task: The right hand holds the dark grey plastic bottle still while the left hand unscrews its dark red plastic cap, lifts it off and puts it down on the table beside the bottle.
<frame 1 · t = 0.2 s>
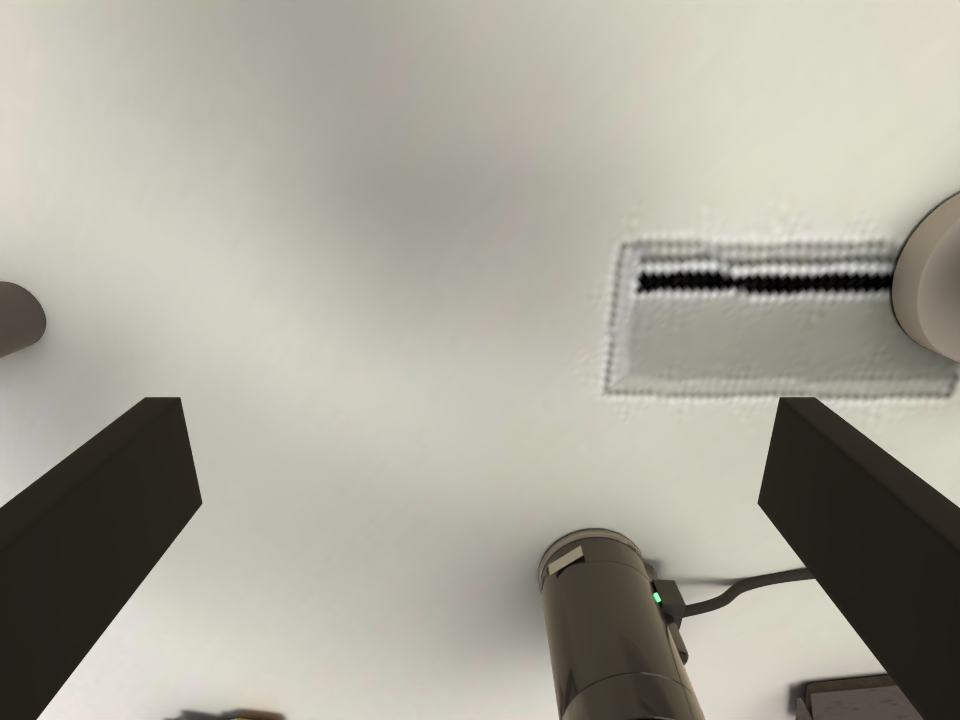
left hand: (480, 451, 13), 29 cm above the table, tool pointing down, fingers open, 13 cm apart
bottle: (11, 314, 42), on the table
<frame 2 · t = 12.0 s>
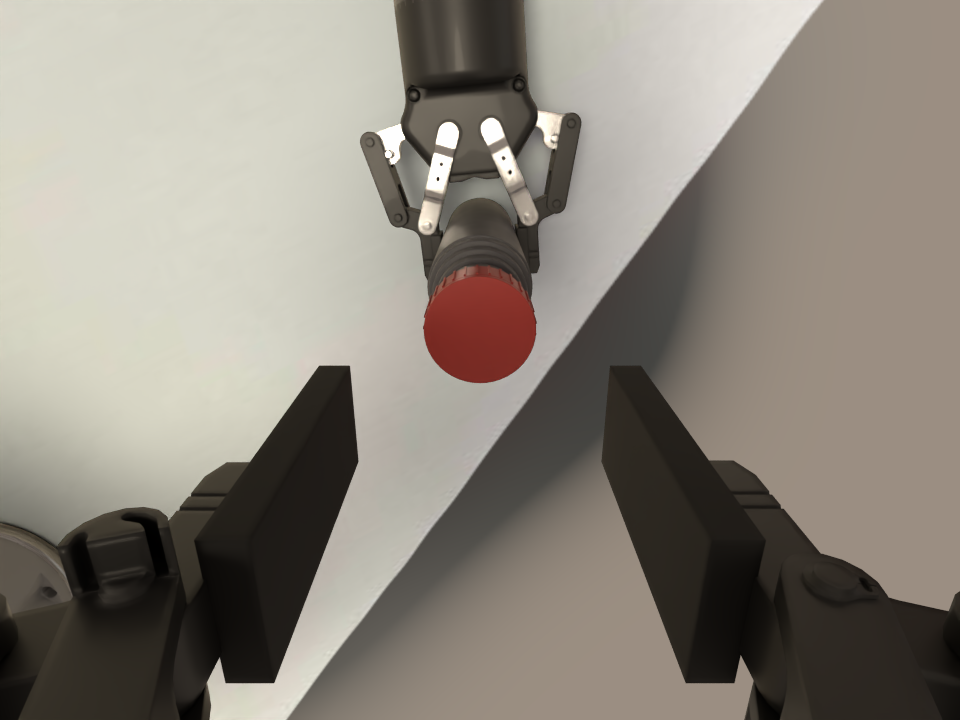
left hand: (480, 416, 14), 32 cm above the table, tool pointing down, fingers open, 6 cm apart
right hand: (483, 282, 39), fingers closed on bottle, 5 cm apart
cap: (479, 329, 21), point 25 cm above the table, screwed on, not yet turned
bottle: (480, 231, 44), on the table, touching right hand
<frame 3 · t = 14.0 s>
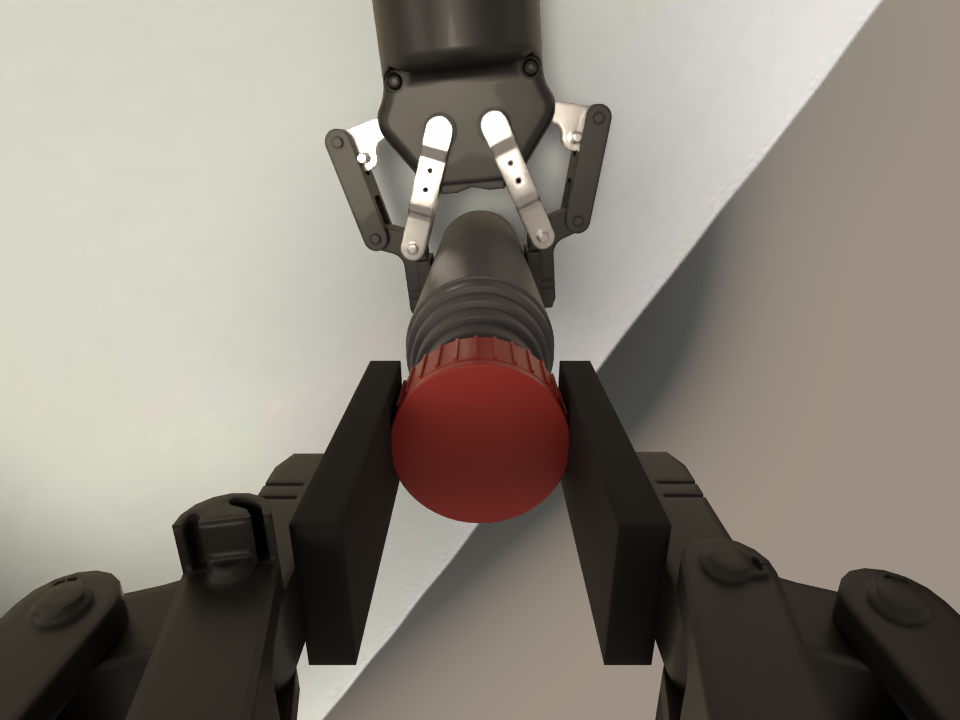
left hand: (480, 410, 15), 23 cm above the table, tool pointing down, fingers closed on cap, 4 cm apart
right hand: (484, 318, 31), fingers closed on bottle, 5 cm apart
cap: (480, 442, 13), point 25 cm above the table, screwed on, not yet turned, touching left hand
bottle: (480, 250, 36), on the table, touching right hand
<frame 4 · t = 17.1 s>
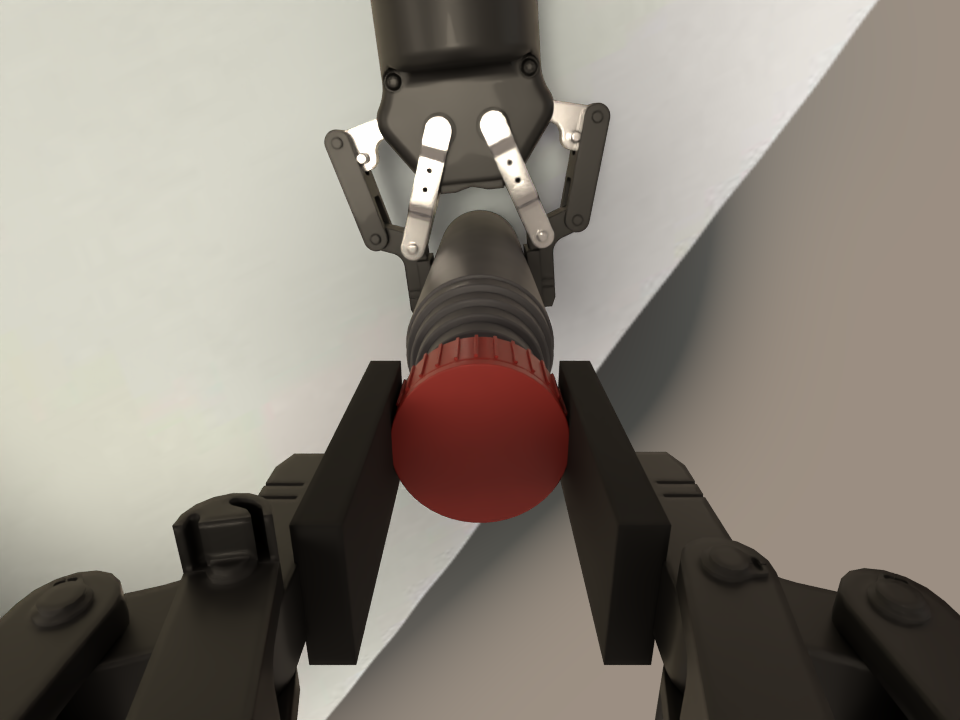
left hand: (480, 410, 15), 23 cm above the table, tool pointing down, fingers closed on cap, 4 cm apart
right hand: (485, 317, 31), fingers closed on bottle, 5 cm apart
cap: (480, 441, 13), point 25 cm above the table, turned 86° so far, risen 0.1 cm, still on its thread, touching left hand
bottle: (479, 250, 36), on the table, touching right hand
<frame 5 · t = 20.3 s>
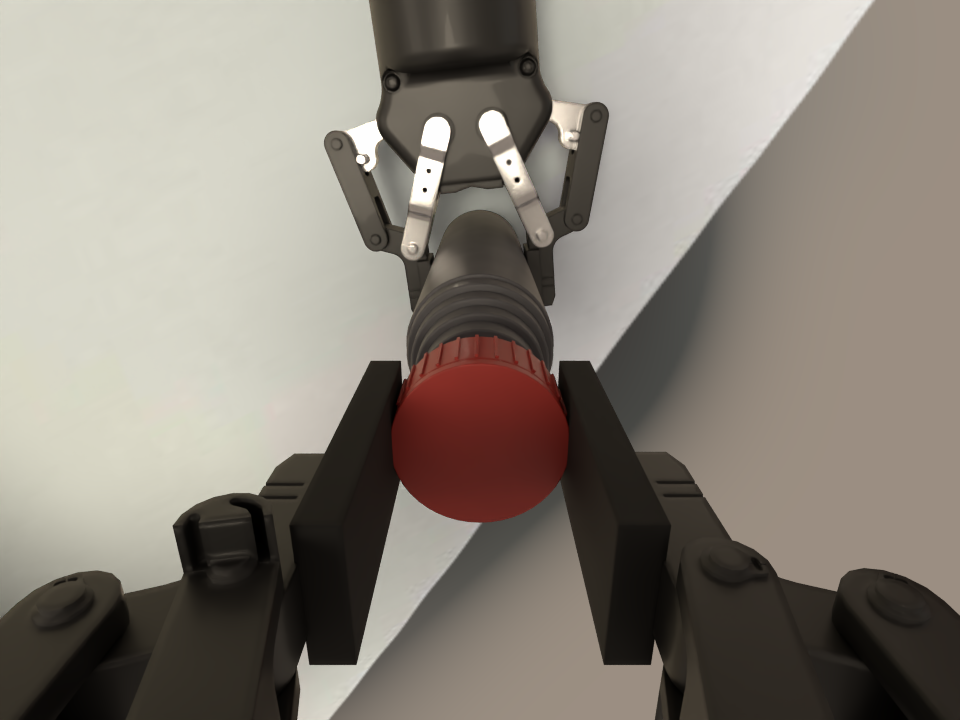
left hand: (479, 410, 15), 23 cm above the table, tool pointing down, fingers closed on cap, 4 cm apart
right hand: (485, 317, 31), fingers closed on bottle, 5 cm apart
cap: (480, 441, 13), point 25 cm above the table, turned 172° so far, risen 0.1 cm, still on its thread, touching left hand
bottle: (479, 250, 36), on the table, touching right hand
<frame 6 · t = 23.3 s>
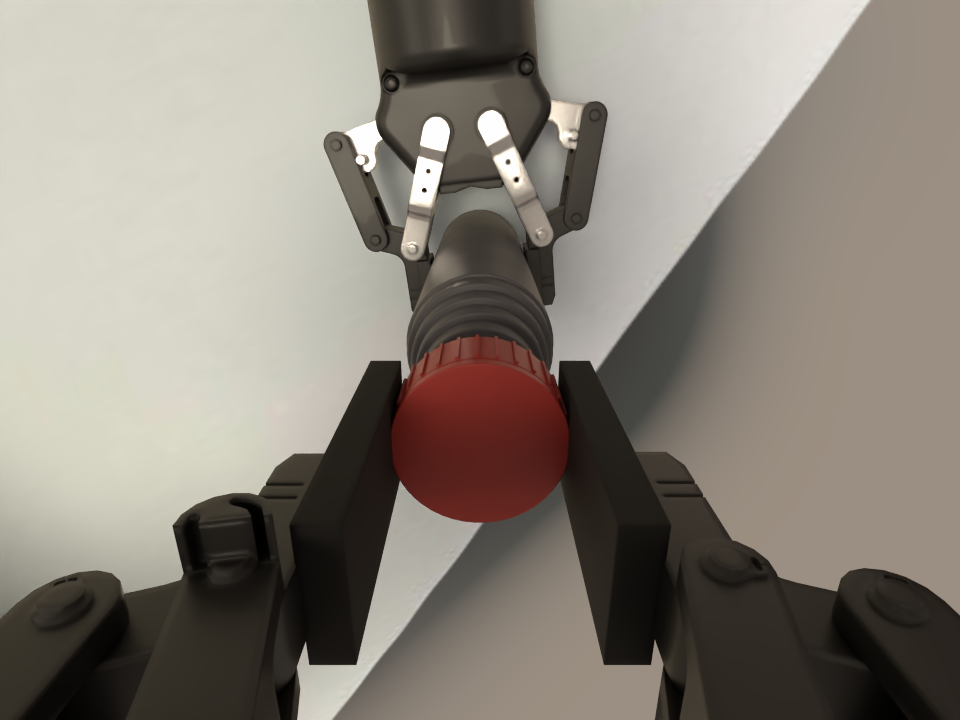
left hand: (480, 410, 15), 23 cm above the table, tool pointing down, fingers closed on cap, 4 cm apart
right hand: (485, 316, 31), fingers closed on bottle, 5 cm apart
cap: (480, 441, 13), point 25 cm above the table, turned 258° so far, risen 0.2 cm, still on its thread, touching left hand
bottle: (479, 250, 36), on the table, touching right hand
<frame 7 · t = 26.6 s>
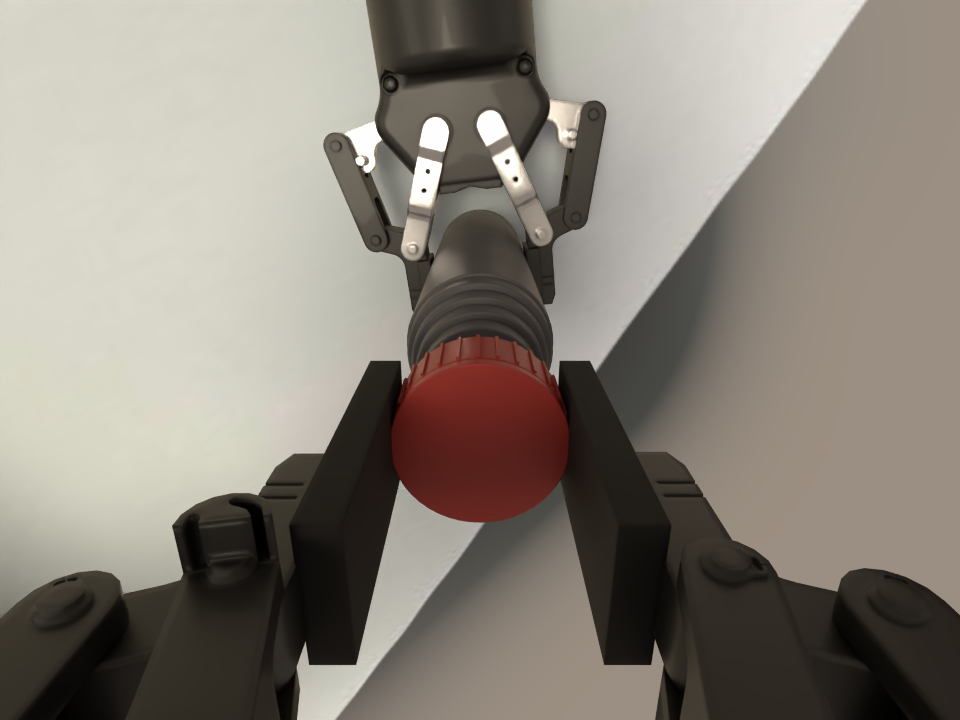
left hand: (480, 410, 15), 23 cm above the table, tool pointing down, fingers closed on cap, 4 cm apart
right hand: (485, 316, 31), fingers closed on bottle, 5 cm apart
cap: (480, 441, 13), point 25 cm above the table, turned 345° so far, risen 0.3 cm, still on its thread, touching left hand
bottle: (480, 249, 36), on the table, touching right hand
when the left hand's fingers open (1 cm above the table, at t = 34.3 s): cap drops 1 cm, point 2 cm above the table.
when the right hand's fingers open (6 cm above the table, at t = 35.6 s): bottle stays where it is, on the table.
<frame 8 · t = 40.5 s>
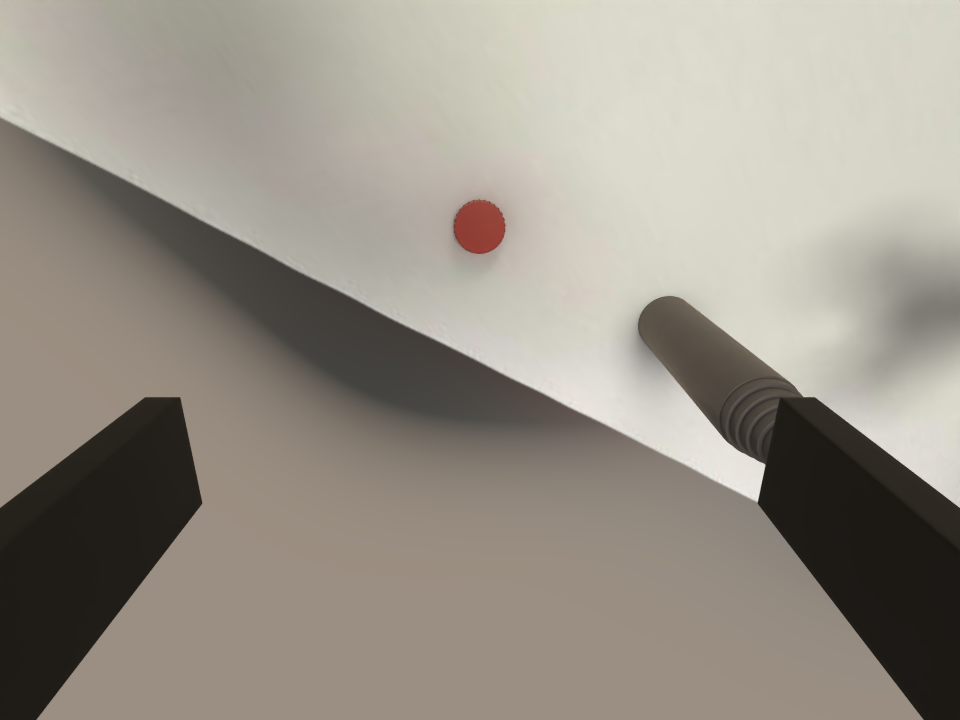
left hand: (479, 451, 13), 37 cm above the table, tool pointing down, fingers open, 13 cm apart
cap: (479, 227, 46), point 2 cm above the table, off its thread
bottle: (666, 323, 51), on the table
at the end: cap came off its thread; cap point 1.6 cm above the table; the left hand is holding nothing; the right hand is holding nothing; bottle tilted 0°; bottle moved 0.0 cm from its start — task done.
